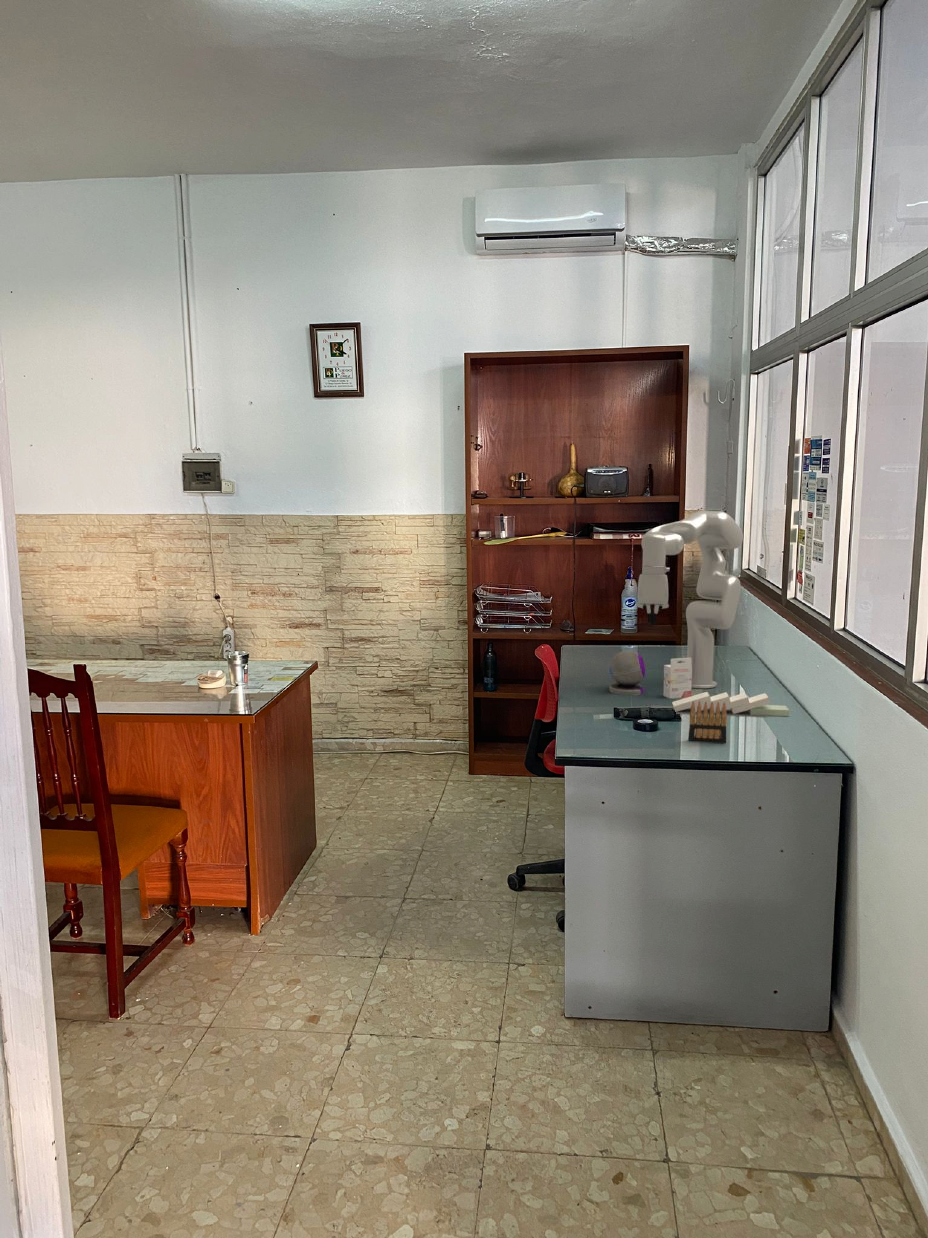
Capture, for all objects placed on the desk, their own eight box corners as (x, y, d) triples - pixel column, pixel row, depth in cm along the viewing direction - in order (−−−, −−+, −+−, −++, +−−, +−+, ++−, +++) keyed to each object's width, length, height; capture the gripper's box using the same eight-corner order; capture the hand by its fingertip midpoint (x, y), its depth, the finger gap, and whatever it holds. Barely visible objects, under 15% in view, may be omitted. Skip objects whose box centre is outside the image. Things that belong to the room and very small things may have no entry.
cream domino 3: (711, 707, 295) (747, 697, 293) (708, 703, 301) (744, 692, 299) (713, 713, 295) (749, 702, 293) (710, 709, 301) (746, 698, 299)
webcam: (644, 696, 322) (646, 654, 320) (608, 694, 324) (609, 653, 322) (645, 688, 335) (646, 648, 332) (609, 686, 337) (611, 646, 335)
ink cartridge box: (684, 695, 323) (685, 655, 321) (691, 698, 318) (693, 657, 316) (662, 697, 321) (663, 656, 318) (669, 700, 316) (670, 658, 314)
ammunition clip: (725, 741, 266) (727, 701, 264) (726, 743, 264) (728, 703, 262) (688, 739, 268) (689, 700, 266) (688, 741, 266) (690, 701, 264)
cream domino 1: (673, 706, 297) (709, 695, 295) (672, 702, 303) (707, 691, 301) (675, 712, 297) (711, 701, 295) (673, 707, 303) (709, 697, 301)
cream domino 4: (731, 708, 294) (768, 697, 292) (729, 704, 300) (765, 693, 298) (733, 714, 294) (770, 703, 292) (730, 709, 300) (767, 698, 298)
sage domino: (747, 710, 300) (784, 711, 298) (750, 714, 294) (788, 716, 292) (747, 704, 299) (785, 705, 298) (750, 708, 294) (789, 710, 292)
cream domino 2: (692, 707, 296) (728, 696, 294) (690, 702, 302) (726, 692, 300) (694, 712, 296) (730, 702, 294) (692, 708, 302) (728, 697, 300)
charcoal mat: (650, 707, 306) (650, 705, 306) (761, 711, 301) (761, 709, 301) (652, 714, 296) (652, 712, 296) (766, 718, 291) (766, 717, 291)
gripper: (675, 570, 309) (673, 623, 311) (630, 569, 311) (629, 622, 314) (677, 572, 301) (675, 626, 304) (631, 571, 303) (629, 625, 306)
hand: (651, 624), depth 309 cm, fingers closed
